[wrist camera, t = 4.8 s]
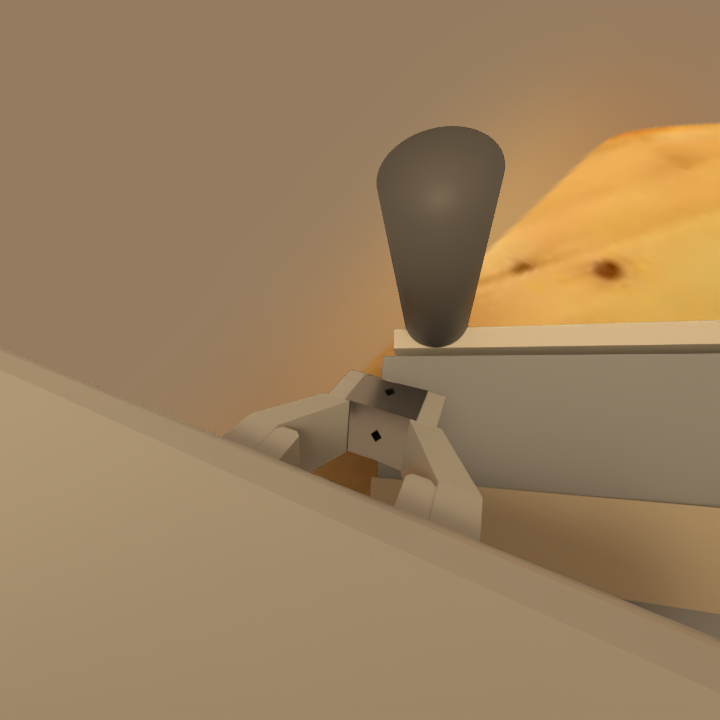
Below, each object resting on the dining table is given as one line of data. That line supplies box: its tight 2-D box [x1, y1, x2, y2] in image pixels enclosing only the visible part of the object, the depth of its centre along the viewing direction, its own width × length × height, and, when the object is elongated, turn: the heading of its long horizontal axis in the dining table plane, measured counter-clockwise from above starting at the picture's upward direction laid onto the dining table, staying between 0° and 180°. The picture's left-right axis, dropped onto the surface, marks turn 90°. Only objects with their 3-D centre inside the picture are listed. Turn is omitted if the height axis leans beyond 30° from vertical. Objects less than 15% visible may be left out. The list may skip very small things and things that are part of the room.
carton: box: [370, 353, 720, 639], centre depth 16 cm, size 20×14×14 cm
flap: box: [377, 126, 720, 356], centre depth 15 cm, size 19×3×21 cm, turn 86°
